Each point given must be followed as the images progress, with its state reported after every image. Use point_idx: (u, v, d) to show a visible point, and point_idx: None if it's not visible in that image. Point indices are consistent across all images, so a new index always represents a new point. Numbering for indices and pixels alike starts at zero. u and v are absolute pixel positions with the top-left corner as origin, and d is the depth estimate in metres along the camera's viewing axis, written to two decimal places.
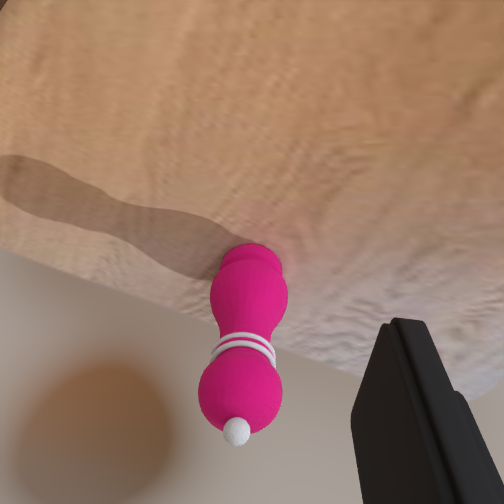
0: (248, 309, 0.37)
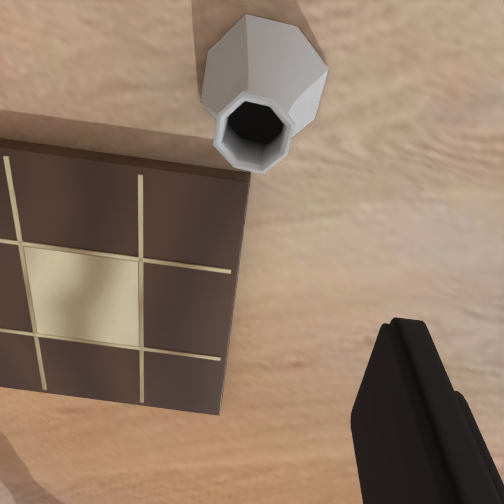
0: None
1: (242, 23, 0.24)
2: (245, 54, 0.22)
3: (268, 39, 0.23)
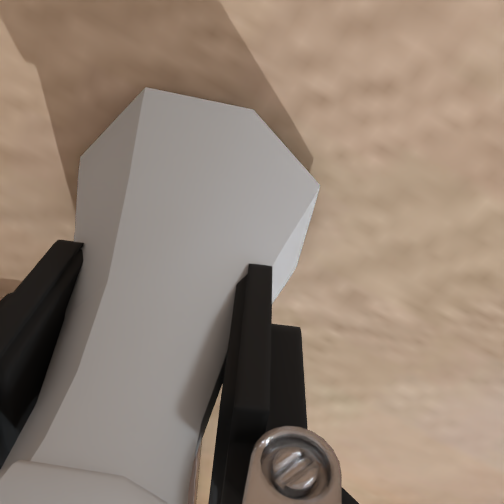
0: None
1: (135, 110, 0.11)
2: (122, 203, 0.09)
3: (183, 153, 0.10)
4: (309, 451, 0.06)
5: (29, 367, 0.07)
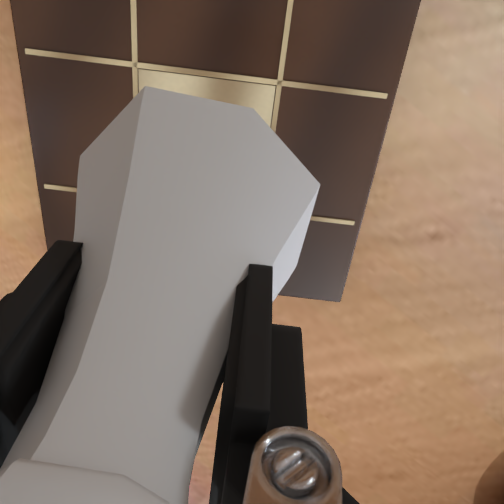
0: None
1: (135, 109, 0.11)
2: (121, 202, 0.09)
3: (183, 152, 0.10)
4: (310, 451, 0.06)
5: (28, 367, 0.07)
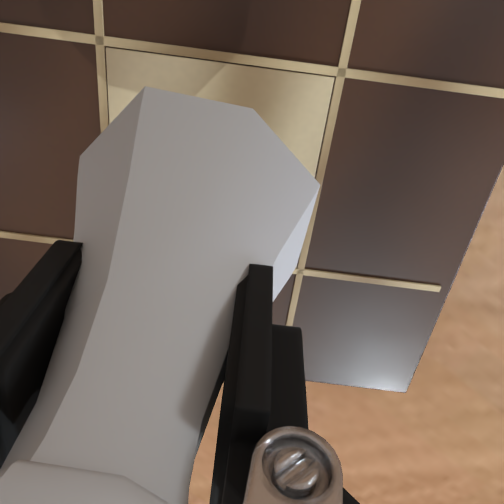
0: None
1: (135, 109, 0.11)
2: (121, 202, 0.09)
3: (183, 152, 0.10)
4: (311, 452, 0.06)
5: (28, 367, 0.07)
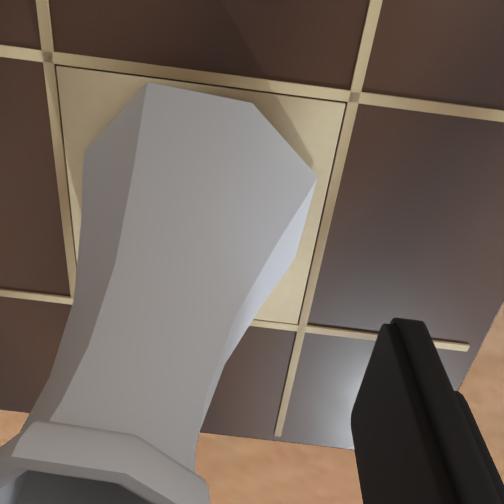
0: None
1: (138, 104, 0.12)
2: (127, 191, 0.10)
3: (185, 144, 0.11)
4: None
5: None
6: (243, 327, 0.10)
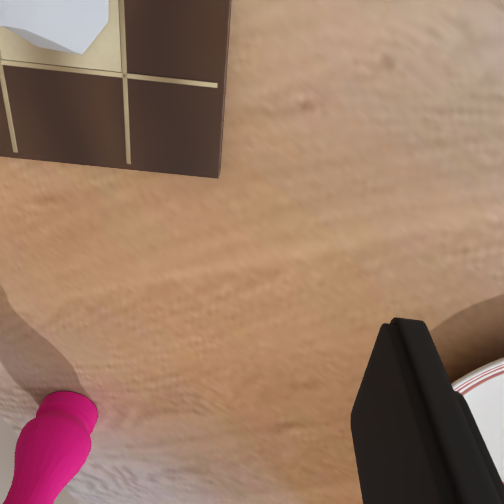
0: (51, 480, 0.42)
1: None
2: None
3: None
4: None
5: None
6: (51, 4, 0.24)
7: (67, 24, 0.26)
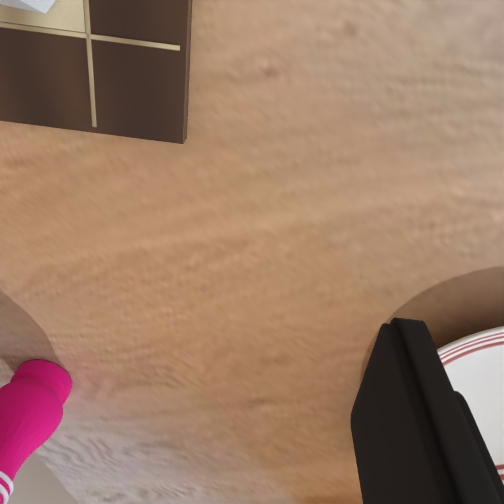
0: (18, 443, 0.43)
1: None
2: None
3: None
4: None
5: None
6: None
7: None
